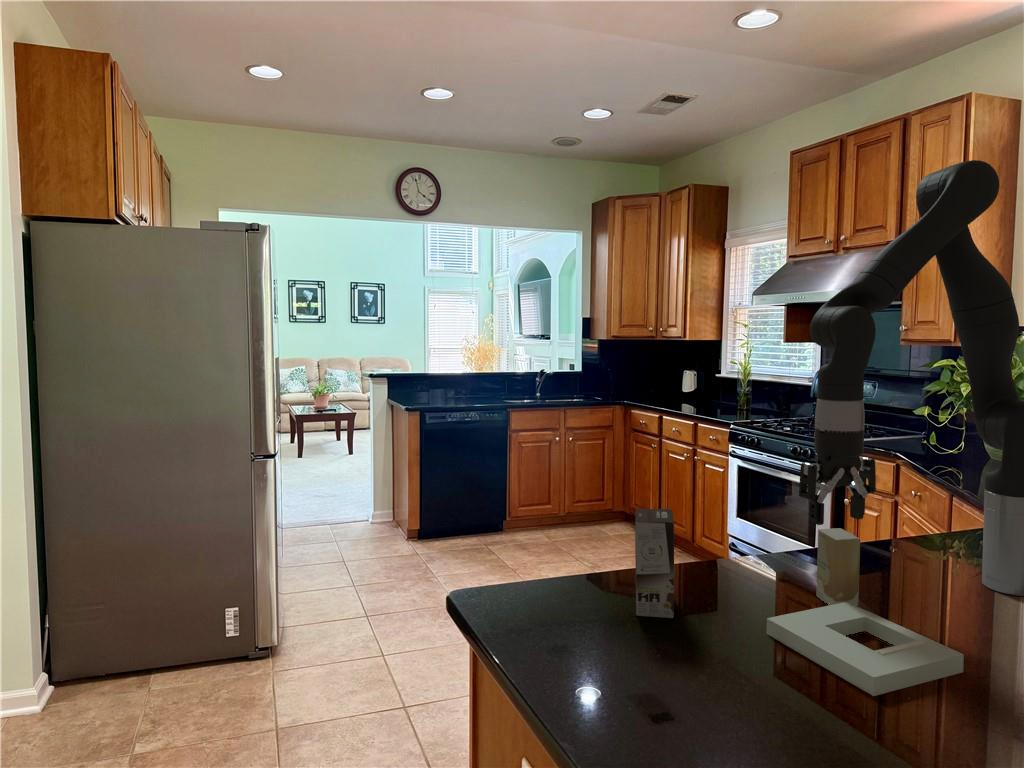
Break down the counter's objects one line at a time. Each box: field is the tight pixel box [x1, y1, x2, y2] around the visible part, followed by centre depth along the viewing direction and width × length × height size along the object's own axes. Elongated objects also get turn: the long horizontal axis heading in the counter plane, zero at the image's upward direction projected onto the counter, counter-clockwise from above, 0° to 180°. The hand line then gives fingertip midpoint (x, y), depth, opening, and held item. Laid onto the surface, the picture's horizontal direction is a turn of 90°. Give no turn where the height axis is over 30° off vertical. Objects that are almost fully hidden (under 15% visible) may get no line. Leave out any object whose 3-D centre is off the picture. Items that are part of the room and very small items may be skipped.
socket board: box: [766, 602, 965, 697], centre depth 102 cm, size 16×20×3 cm
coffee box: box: [634, 508, 675, 619], centre depth 120 cm, size 9×6×16 cm
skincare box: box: [815, 527, 861, 607], centre depth 119 cm, size 6×4×12 cm
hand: (837, 521), depth 119 cm, fingers open, 8 cm apart
